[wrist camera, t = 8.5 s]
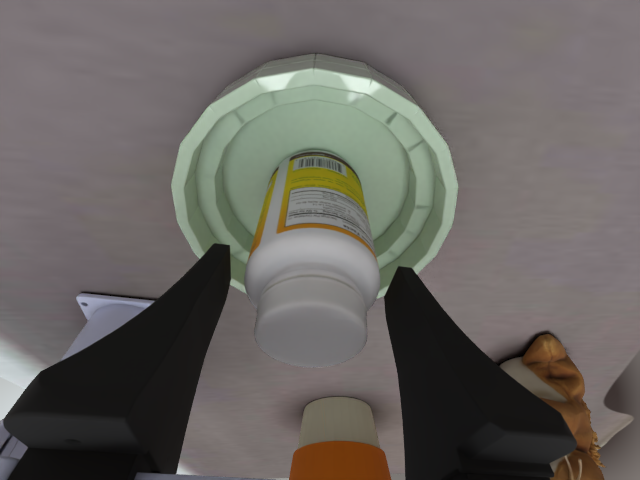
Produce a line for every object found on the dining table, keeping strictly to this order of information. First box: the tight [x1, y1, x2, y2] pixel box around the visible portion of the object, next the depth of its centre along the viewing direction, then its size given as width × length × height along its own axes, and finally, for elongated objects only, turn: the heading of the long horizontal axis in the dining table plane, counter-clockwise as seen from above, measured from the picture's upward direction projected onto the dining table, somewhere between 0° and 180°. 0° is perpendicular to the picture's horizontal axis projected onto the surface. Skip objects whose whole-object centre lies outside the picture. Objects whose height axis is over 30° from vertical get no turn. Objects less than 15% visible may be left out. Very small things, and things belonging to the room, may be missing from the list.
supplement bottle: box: [244, 150, 380, 368], centre depth 14 cm, size 6×6×10 cm
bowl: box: [171, 54, 458, 299], centre depth 17 cm, size 14×14×4 cm
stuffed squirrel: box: [499, 334, 605, 480], centre depth 28 cm, size 10×14×13 cm
